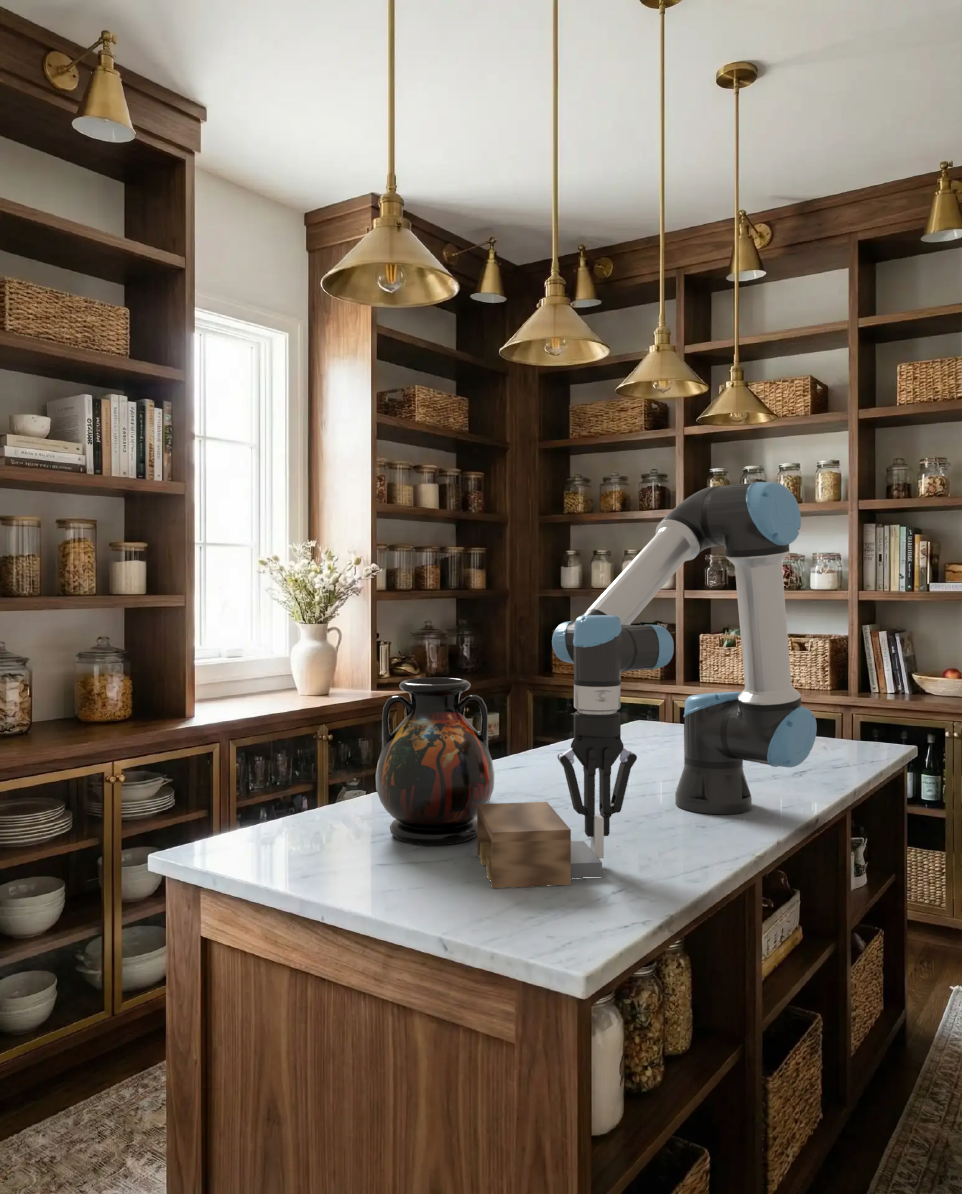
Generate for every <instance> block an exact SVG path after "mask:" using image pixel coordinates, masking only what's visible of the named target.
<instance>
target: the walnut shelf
mask: <svg viewBox="0 0 962 1194" xmlns="http://www.w3.org/2000/svg"><path fill="white" fill-rule="evenodd" d="M476 819H477V835H476V837H477V838H476V840H477V841H476V843H477V844H476V849H477V850H476V854H478V855H477V857H478V856H480V857H479V861H480V863H482V864H481V865H487V866H486V877H487V876H488V877H487V879H489V880H491V881H490V885H492V886H491V888H499V889H501V888H500V887H521V888H537V887H536V886H544V887H548V886H547V885H566V886H571V885H572V884H571V882H572V881H571V880H572V879H571V841H572V837H571V836H572V830H571V828H570V826H568V825H567V823H566V822H565V821H564V820H563V819H562V818H561V816H560V815H559V814H558V812H556V810H554V808H553V807H552V806H551V805H550V804H549V802H548V801H533V802H532V801H528V802H527V801H526V802H525V801H524V802H499V803H497V802H496V803H495V802H494V803H488V804H477V817H476ZM489 880H488V881H489ZM532 886H533V887H532Z"/></svg>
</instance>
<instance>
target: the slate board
mask: <svg viewBox="0 0 962 1194" xmlns="http://www.w3.org/2000/svg"><path fill="white" fill-rule="evenodd" d="M583 877H602V878H603V861H602V860H601V858H598V857H597V856H596V855H595V853H594V852H593V851H592V850H591V847H590V846H589V845H588V844H587V843H586V842H585V841H584V840H573V841H572V840H571V880H573V879H572V878H583Z"/></svg>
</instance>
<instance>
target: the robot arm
mask: <svg viewBox="0 0 962 1194" xmlns="http://www.w3.org/2000/svg"><path fill="white" fill-rule="evenodd" d="M801 525H802V517H801V510H800V507H799V504H798V501H797V499H796V497H795V496H794V494H793V493H792V492H791V491H790V490H789V488H788V487H787V486H785V485H784V484H782V483H780V482H779V483H778V482H775V481H773V482H772V481H768V482H767V481H766V482H765V481H755V482H750V483H749V482H748V483H747V482H746V483H739V484H738V483H737V484H730V485H728V484H727V485H717V486H715V485H714V486H709V487H706V488H703V489H701V490H698V491H696V492H695V493H693V494H692V495H689V496H688V497H687V498H685V499H684V500H682V502H680V503H679V504H678V505H677V506H675V507H674V508H673V509H672V510H671V511H669V512H668V513H667V514H666V515H665V517H664V518H663V519H661V521H660V522H659V523H658V524H657V525H656V528H655V535H654V536H653V537H652V538H651V540H650V541H649V542H648V543H647V544H646V545H645V546H644V547H643V548H642V550H640V552H639V553H638V554H637V555H636V556H635V557H634V558H633V560H631V562H630V563H628V565H627V566H626V567H625V568H624V570H622V572H620V574H618V576H617V577H616V578H615V579H614V580H613V582H611V584H610V585H609V586H608V587H607V588H606V589H604V591H603V593H601V594H600V596H599V597H597V599H596V600H595V601H594V602H593V603H592V604H591V606H589V608H588V609H586V611H585V612H584V613H583V614H582V615H579V616H578V617H577V618H576V619H575V620H570V621H564V622H562V623H560V624H558V626H557V627H556V628H555V629H554V632H553V634H552V638H551V639H552V640H551V645H552V649H553V652H554V655H555V656H556V657H557V659H559V660H560V661H562V662H564V663H568V664H573V678H574V679H573V708H574V709H575V710H577V711H575V712H574V714H573V739H572V740H571V741H572V742H571V743H570V748H569V749H568V750H566V751H565V752H563V753H561V752H560V753H557V756H556V757H557V760H558V761H559V763H560V765H561V766H562V768H563V771H564V775H565V779H566V783H567V784H566V785H567V787H568V792H569V795H570V800H571V804H572V809H573V810H574V811H575V812H576V813H577V814H578V815H582V816H583V817H584V833H585V835H586V837H589V838H590V849H591V850H592V851H593V852H594V853H595V855H596V856H597V857H598V858H599V859H604V858H605V857H604V850H605V849H604V844H605V843H604V842H605V841H604V837H609V835H610V823H611V822H610V818H611V817H612V815H614V814H617V813H619V814H620V812H621V811H622V808H623V803H624V799H625V796H626V792H627V787H628V782H629V778H630V773H631V769H632V767H633V766H634V764H635V763H636V761H637V759H638V756H637V754H635V753H634V752H632V751H629V750H627V749H626V748H625V747H624V743H623V742H622V738H621V737H622V736H621V729H622V728H621V725H622V724H621V723H622V722H621V721H622V720H621V717H622V716H621V714H620V712H619V711H618V710H620V709H621V707H622V705H621V703H622V701H621V682H622V681H621V680H622V679H621V678H622V675H621V674H622V673H623V672H624V673H625V672H630V671H631V672H634V671H648V670H649V671H653V670H655V669H660V668H663V667H665V666H667V665H668V664H669V663H670V662H671V660H672V658H673V655H674V651H675V650H674V649H675V647H674V639H673V636H672V635H671V633H670V632H669V630H668V629H666V628H665V627H664V626H663V625H662V626H661V625H657V624H652V623H651V624H642V625H641V624H640V625H637V624H636V625H635V624H632V623H633V622H634V620H635V619H636V618H637V617H638V616H639V615H640V613H641V612H642V611H643V610H644V609H645V608H646V607H647V605H649V603H650V602H651V601H652V600H653V599H654V598H655V596H656V595H657V594H658V593H659V592H660V590H661V589H662V588H663V587H664V586H665V585H666V584H667V583H668V581H670V579H671V578H672V577H673V576H674V574H676V572H677V571H678V570H679V569H680V567H681V566H682V565H683V564H684V563H685V562H687V561H692V560H694V559H695V558H696V557H697V556H698V555H699V554H700V553H701V552H703V551H704V550H706V549H710V548H714V547H724V553H725V559H727V560H728V561H729V562H730V563H732V565H733V567H734V573H735V582H736V583H735V584H736V596H737V607H738V608H737V609H738V618H739V630H740V632H739V633H740V643H741V654H742V655H741V656H742V667H743V679H744V689H742V691H724V692H723V691H722V692H709V693H700V694H692V695H689V696H688V697H687V698H686V700H685V702H684V714H683V716H682V717H683V736H684V737H683V740H684V741H683V753H684V754H683V757H684V760H683V761H684V762H683V763H684V764H683V770H682V773H681V775H680V778H679V781H678V784H677V787H676V791H675V798H674V800H675V803H674V804H675V805H676V806H677V807H679V808H680V809H682V810H686V811H689V812H694V813H702V814H709V815H711V814H713V815H714V814H715V815H732V814H733V815H735V814H740V813H742V814H743V813H745V812H749V811H750V810H752V807H753V806H752V805H753V804H752V802H753V799H752V794H751V791H750V788H749V785H748V782H747V778H746V776H745V775H746V774H745V772H744V761H747V762H752V763H757V764H758V763H759V764H762V765H768V766H771V767H773V768H777V767H781V768H795V767H797V766H799V765H801V764H802V763H803V762H804V761H805V760H806V759H807V758H808V757H809V755H810V753H811V751H812V750H813V747H814V745H815V741H816V737H817V731H818V730H817V729H818V728H817V726H818V725H817V720H816V719H817V718H816V717H815V714H814V713H813V712H812V710H810V709H809V708H807V707H805V706H802V695H801V692H799V691H798V689H795V687H794V686H793V685H792V675H791V673H792V672H791V664H790V663H791V662H790V659H791V658H790V649H789V648H790V647H789V637H788V623H787V622H788V621H787V611H786V598H785V587H784V585H785V583H784V573H783V561H784V559H785V558H786V557H787V556H788V554H790V552H791V551H790V544H793V542H795V541H796V539H797V538H798V536H799V535H800V532H799V530H800V529H801V527H802V526H801ZM574 757H576V759H577V760H578V761H579V763H580V764H581V765H582V766H583V767H582V768H583V769H582V771H583V801H582V797H581V792H580V787H579V784H578V779H577V775H576V771H575V768H574V766H573V764H574V763H575V759H574ZM618 758H619V760H620V762H619V766H618V770H617V774H616V777H615V783H614V787H613V791H612V795H611V776H612V766H613V765H614V763H615V762H616V761H617V759H618ZM597 769H598V777H599V778H598V779H599V780H598V781H599V782H598V783H599V784H598V786H599V787H598V788H599V789H598V790H599V791H598V792H599V793H598V795H599V796H598V797H599V799H598V801H599V804H598V805H599V806H598V808H599V809H598V810H599V813H596V802H595V801H596V775H597V774H596V773H597V771H596V770H597Z"/></svg>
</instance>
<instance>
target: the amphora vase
mask: <svg viewBox="0 0 962 1194" xmlns="http://www.w3.org/2000/svg"><path fill="white" fill-rule="evenodd" d="M398 685H399V688H400V690H402V691H403V692H407V694H409V698H410V701H409V700H408V699H407V698H405V697H404V696H402V695H392V696H390V697H389V698H387V700H386V702H385V704H384V706H383V708H382V716H381V719H382V721H381V751H380V754H379V757H378V761H377V765H376V770H375V789H376V792H377V795H378V798H379V801H380V803H381V804H382V806H383V808H384V809H385V811H386V812H387V813H388V814H389V815H390V816H391V817H392V818H393V819H394V820H392V822H391V824H390V825H389V830H390V831H389V832H390V834H391V835H392V836H393V837H395V838H396V839H397V840H399V841H401V842H404V843H408V844H409V843H410V844H413V845H420V844H422V845H421V846H448V845H453V844H459V843H463V842H467V841H469V840H472V839H473V838H475V837H477V804H489V802H490V801H491V799H492V798H491V797H492V794H493V792H494V788H495V770H494V769H495V768H494V764H493V759H492V756H491V753H490V750H489V722H488V721H489V718H488V717H489V716H488V708H487V705H486V703H485V701H484V700H483V698H482V697H480V696H479V695H477V694H470V695H467V696H465V697H464V698H463V699H461V700H460V697H461V694H462V693H463V692H465V691H467V690H469V689H470V688H471V683H470V682H469V681H468V680H466V679H462V678H454V677H420V678H411V679H405V680H403V681H401V682H400V683H399V684H398ZM471 702H473V703H476V704H478V707H479V709H480V715H481V716H480V717H481V724H480V730H479V731H480V733H478V732H479V731H478V730H477V729H476V728H475V727H474V726H473V725H472V723H471V722H470V721H469V720H468V719H467V718H466V716H465V709H466V708H465V707H466V706H467V705H468V704H469V703H471ZM395 703H401V705H402V706H403V707H404V708H405V717H404V718H403V720H402V721H401V722H400V723H399V725H397V726H396V728H395V729H394V730H393V731H392V733H391V732H390V724H389V717H390V710H391V707H392V705H394V704H395Z"/></svg>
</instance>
